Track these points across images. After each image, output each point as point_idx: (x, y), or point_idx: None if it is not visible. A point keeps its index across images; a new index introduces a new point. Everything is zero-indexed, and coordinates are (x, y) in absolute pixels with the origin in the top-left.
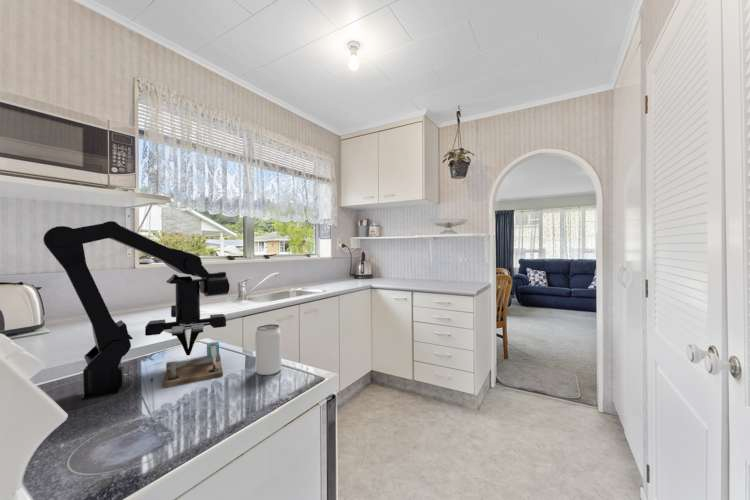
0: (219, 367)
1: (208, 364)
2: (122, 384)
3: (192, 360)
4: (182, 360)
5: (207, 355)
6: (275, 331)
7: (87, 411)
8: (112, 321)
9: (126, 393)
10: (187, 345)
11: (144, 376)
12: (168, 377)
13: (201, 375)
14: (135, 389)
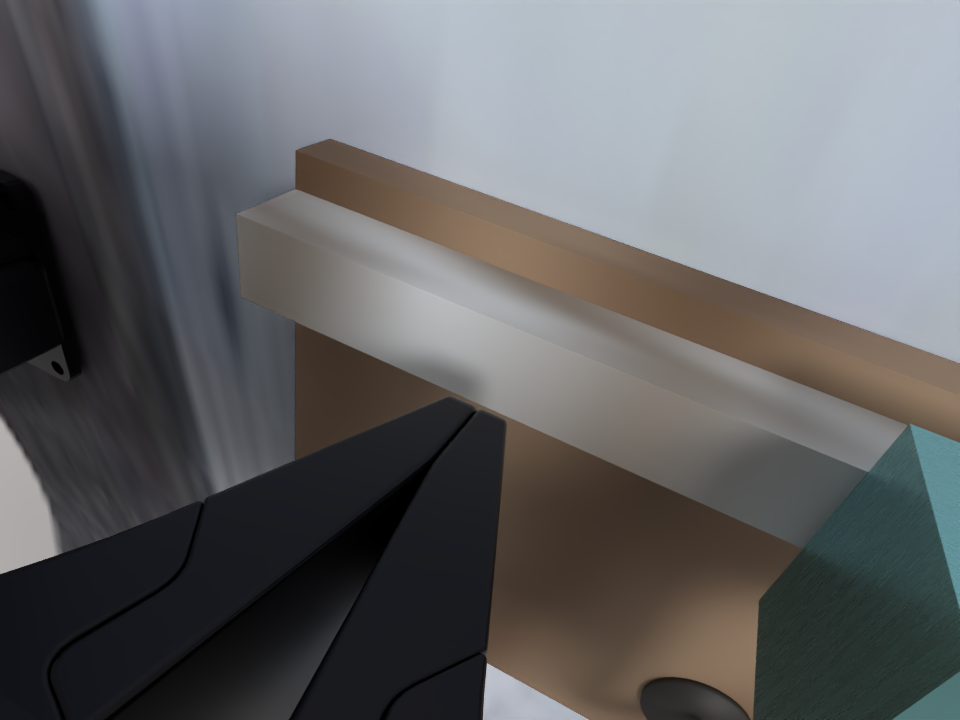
0: None
1: (762, 542)
2: (48, 346)
3: (560, 431)
4: (430, 325)
5: (763, 634)
6: None
7: (54, 465)
8: None
9: (135, 413)
10: (338, 623)
11: (142, 132)
12: None
13: (555, 690)
14: (164, 398)
